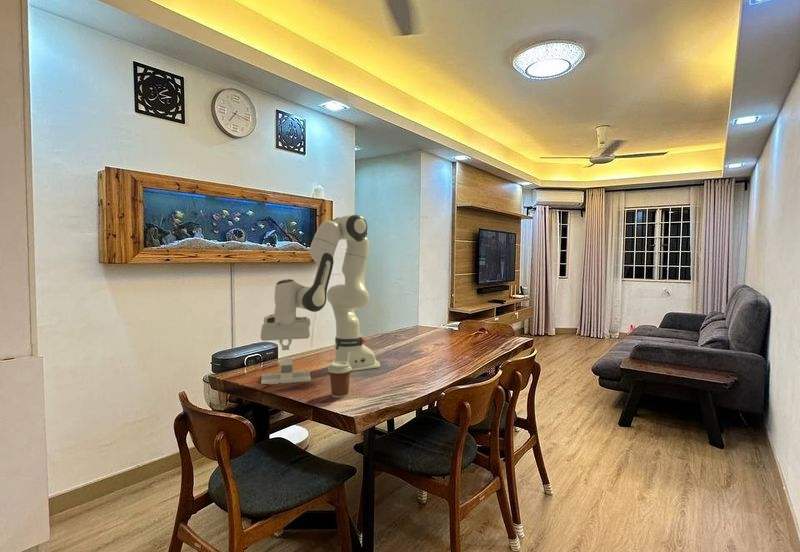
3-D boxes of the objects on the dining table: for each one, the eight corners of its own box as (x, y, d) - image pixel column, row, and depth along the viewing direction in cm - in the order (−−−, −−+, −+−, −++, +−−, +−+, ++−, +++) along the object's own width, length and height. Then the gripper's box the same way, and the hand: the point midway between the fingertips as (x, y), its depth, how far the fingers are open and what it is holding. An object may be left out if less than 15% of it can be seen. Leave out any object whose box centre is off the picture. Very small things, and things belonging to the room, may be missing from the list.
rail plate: (308, 373, 188) (308, 367, 188) (311, 381, 177) (311, 375, 177) (261, 377, 183) (261, 371, 182) (261, 385, 171) (261, 379, 171)
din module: (291, 373, 185) (291, 358, 184) (292, 379, 176) (292, 363, 176) (280, 374, 183) (279, 358, 183) (280, 380, 174) (280, 364, 174)
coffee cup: (335, 389, 165) (335, 359, 165) (356, 392, 162) (356, 362, 161) (323, 397, 157) (323, 365, 156) (344, 400, 154) (344, 367, 153)
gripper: (309, 315, 185) (309, 346, 185) (260, 317, 179) (260, 349, 179) (310, 317, 179) (310, 349, 179) (260, 319, 173) (260, 352, 173)
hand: (285, 349), depth 179 cm, fingers closed
